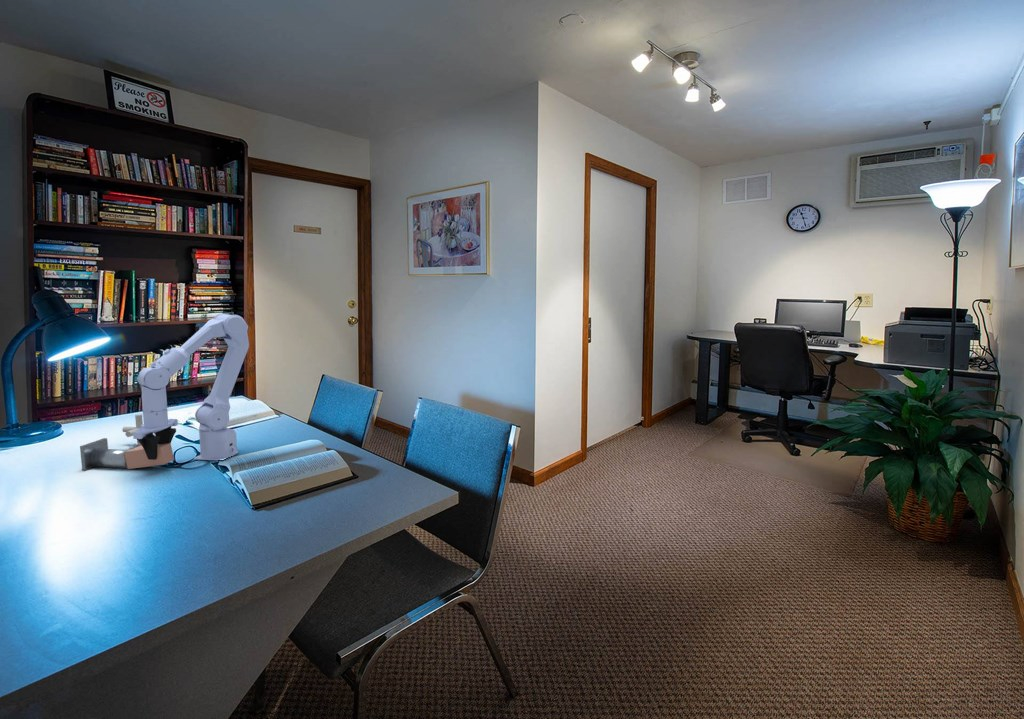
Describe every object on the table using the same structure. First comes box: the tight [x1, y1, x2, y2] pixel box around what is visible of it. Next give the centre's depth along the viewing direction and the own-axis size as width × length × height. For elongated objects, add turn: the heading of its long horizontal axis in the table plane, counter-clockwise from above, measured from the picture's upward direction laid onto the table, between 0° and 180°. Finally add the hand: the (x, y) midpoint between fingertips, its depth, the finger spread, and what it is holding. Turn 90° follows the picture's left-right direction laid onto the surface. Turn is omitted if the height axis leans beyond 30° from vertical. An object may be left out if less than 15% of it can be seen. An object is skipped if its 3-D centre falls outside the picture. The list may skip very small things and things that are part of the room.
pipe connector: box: [121, 413, 144, 447], centre depth 169 cm, size 10×10×10 cm
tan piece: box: [124, 442, 175, 470], centre depth 150 cm, size 11×8×5 cm
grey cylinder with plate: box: [79, 437, 129, 472], centre depth 149 cm, size 11×8×7 cm
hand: (158, 456), depth 148 cm, fingers closed on tan piece, 4 cm apart
